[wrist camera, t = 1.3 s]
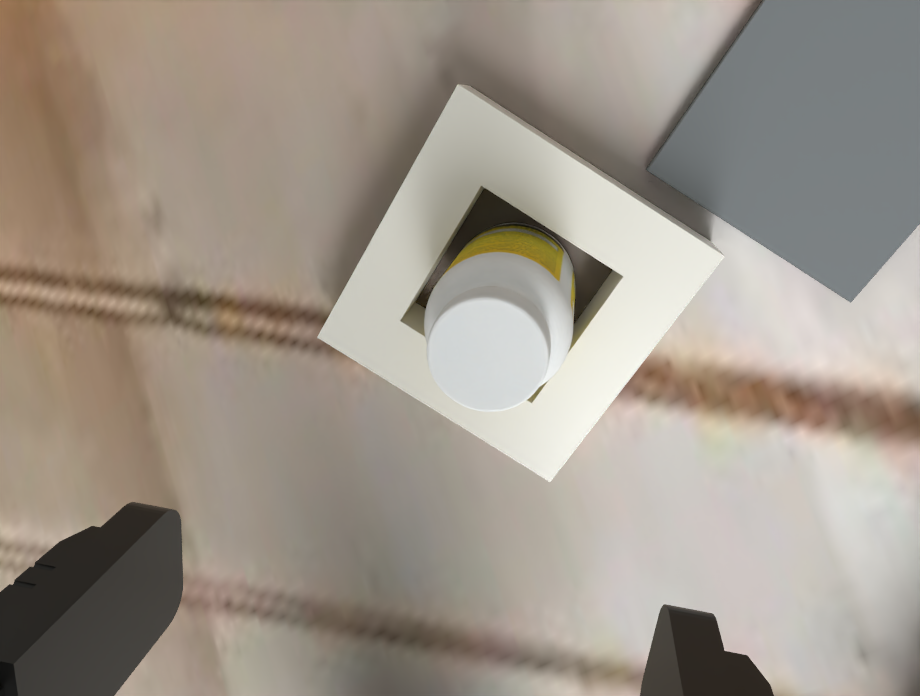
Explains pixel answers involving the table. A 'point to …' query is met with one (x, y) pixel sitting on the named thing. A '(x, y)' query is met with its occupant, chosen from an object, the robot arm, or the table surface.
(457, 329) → the supplement bottle
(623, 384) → the frame
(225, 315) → the table surface
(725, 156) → the rubber pad
